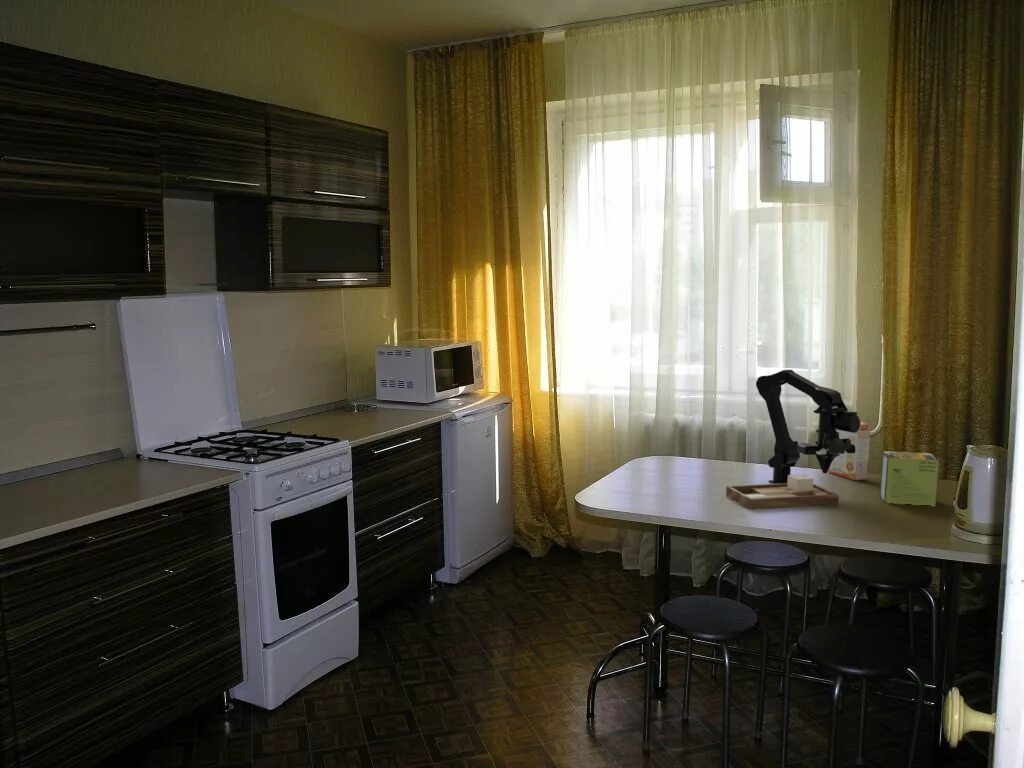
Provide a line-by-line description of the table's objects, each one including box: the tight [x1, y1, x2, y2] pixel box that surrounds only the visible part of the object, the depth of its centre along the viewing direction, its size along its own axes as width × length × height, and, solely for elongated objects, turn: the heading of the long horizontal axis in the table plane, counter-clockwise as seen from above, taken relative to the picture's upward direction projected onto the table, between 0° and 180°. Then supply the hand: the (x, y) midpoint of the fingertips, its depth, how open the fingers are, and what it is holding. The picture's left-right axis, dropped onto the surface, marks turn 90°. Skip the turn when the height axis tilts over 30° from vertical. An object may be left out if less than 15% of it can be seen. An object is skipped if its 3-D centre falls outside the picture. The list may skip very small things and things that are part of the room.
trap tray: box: [725, 482, 840, 510], centre depth 284 cm, size 17×31×3 cm, turn 102°
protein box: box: [879, 450, 940, 507], centre depth 284 cm, size 10×15×16 cm
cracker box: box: [827, 421, 872, 481], centre depth 316 cm, size 14×6×21 cm, turn 22°
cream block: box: [787, 474, 815, 491], centre depth 289 cm, size 6×6×4 cm
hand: (824, 473), depth 291 cm, fingers closed
